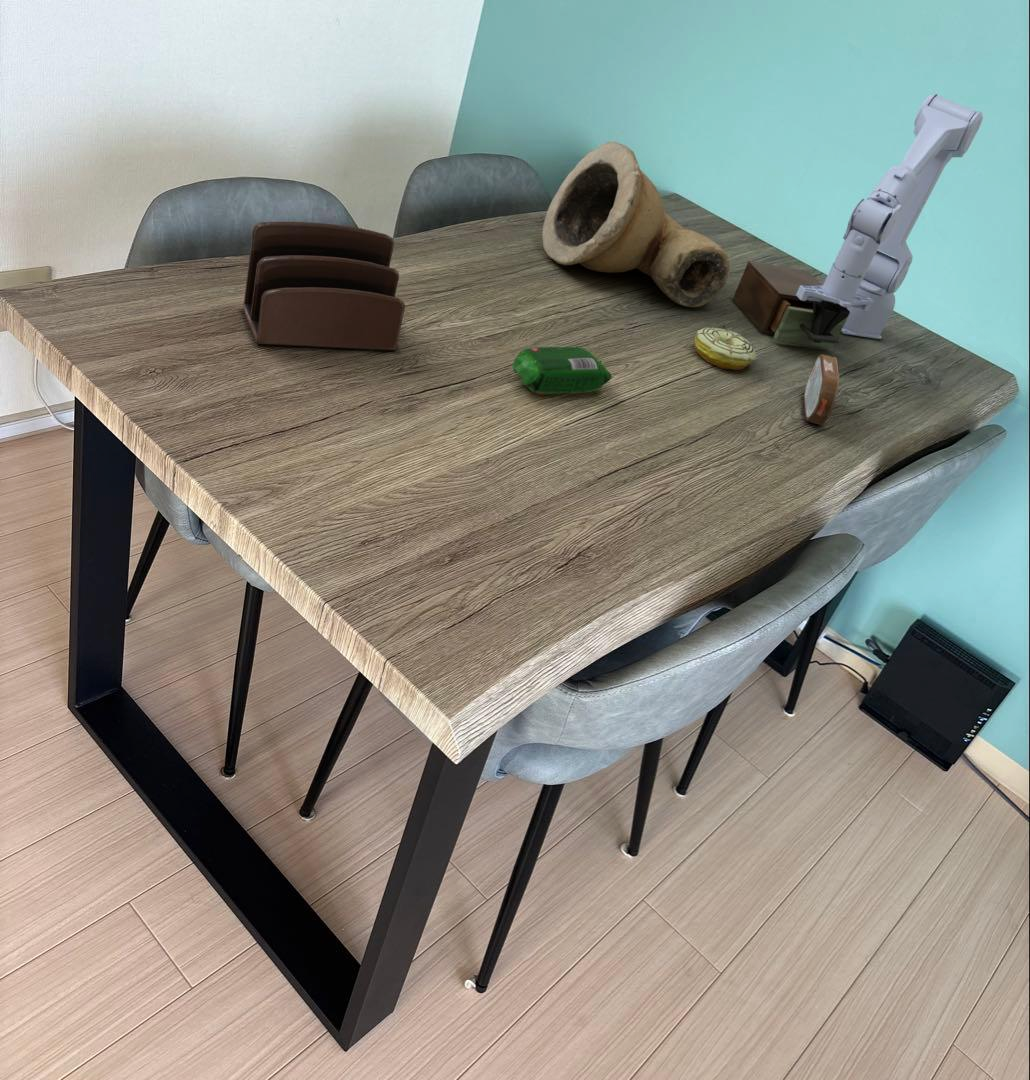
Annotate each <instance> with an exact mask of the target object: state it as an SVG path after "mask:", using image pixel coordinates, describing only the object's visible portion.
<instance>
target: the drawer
mask: <svg viewBox="0 0 1030 1080" xmlns="http://www.w3.org/2000/svg"><path fill="white" fill-rule="evenodd" d="M789 300H791V299H789ZM792 301H795V302H798V303H801V304H804V305H807V306H811V307H813V303H810V302H804V301H798V300H792ZM790 305H791V304H790V303H789V302H788V301H787V300H786V299H785V298H781V300H780V302H779V304H778V307H777V309H776V311H775V313H774V316H773V318H772V320H771V322H770V325H769V327H770V329H771V330H772V331H773V332H774V333H775V335H773V339H774V340H775V341H779V342H786V343H793V344H794V343H795V344H798V345H799V344H801V345H808V346H813V347H821V348H829V349H833V348H834V346H835V345H838V344H839V343H840V337H839V336H840V334H841V330H842V328H843V326H844V324H845V322H846V320H847V318H846V319H844V320H842V321H841V322H840V323H839V324H837V325H836V326H835V327H834V328H833V329H832V330H831V331H830V332H829V333H828V334H827V335H821V334H814V333H811V328H812V322H813V310H810V309H803V308H797V307H791V306H790ZM813 340H814V341H821V343H816V342H814V341H813Z"/></svg>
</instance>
